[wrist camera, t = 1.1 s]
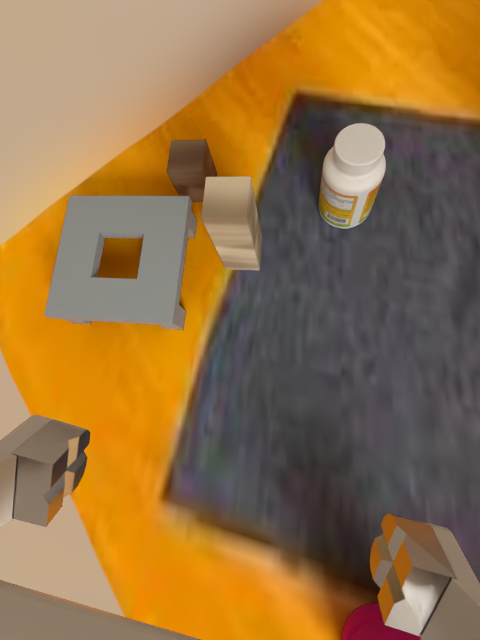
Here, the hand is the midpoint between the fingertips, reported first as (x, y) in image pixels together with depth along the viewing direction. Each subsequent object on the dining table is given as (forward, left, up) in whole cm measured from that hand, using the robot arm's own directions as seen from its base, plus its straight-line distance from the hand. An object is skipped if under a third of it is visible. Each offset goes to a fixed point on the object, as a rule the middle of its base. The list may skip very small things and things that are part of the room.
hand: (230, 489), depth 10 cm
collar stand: (-5, -22, -26) cm, 35 cm away
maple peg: (-13, -13, -26) cm, 32 cm away
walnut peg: (-17, -22, -26) cm, 38 cm away
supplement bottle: (-23, -7, -26) cm, 36 cm away
